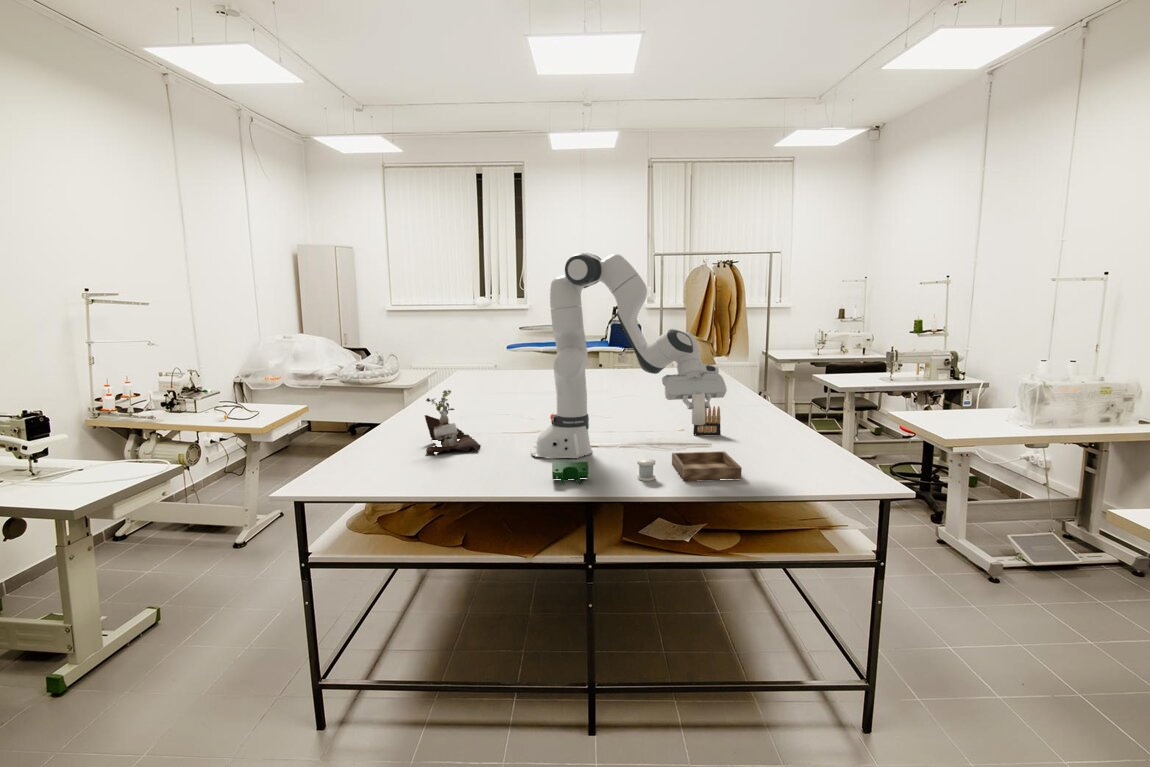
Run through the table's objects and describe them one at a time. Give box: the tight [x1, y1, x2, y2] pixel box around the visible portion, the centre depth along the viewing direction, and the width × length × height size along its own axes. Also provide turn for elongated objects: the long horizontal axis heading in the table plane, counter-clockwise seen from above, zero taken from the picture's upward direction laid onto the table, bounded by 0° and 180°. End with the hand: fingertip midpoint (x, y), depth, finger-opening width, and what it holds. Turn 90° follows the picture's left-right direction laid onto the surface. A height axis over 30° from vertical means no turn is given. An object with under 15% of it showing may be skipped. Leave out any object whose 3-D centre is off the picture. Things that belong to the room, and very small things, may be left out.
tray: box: [671, 450, 743, 482], centre depth 191 cm, size 18×18×4 cm
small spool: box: [636, 457, 656, 482], centre depth 185 cm, size 6×6×6 cm
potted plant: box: [424, 389, 480, 454], centre depth 225 cm, size 20×19×25 cm
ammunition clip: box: [692, 405, 722, 436], centre depth 237 cm, size 11×2×12 cm, turn 83°
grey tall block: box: [691, 391, 706, 426], centre depth 193 cm, size 4×4×11 cm
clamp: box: [551, 461, 590, 484], centre depth 183 cm, size 12×6×9 cm, turn 86°
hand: (699, 407), depth 192 cm, fingers closed on grey tall block, 4 cm apart
